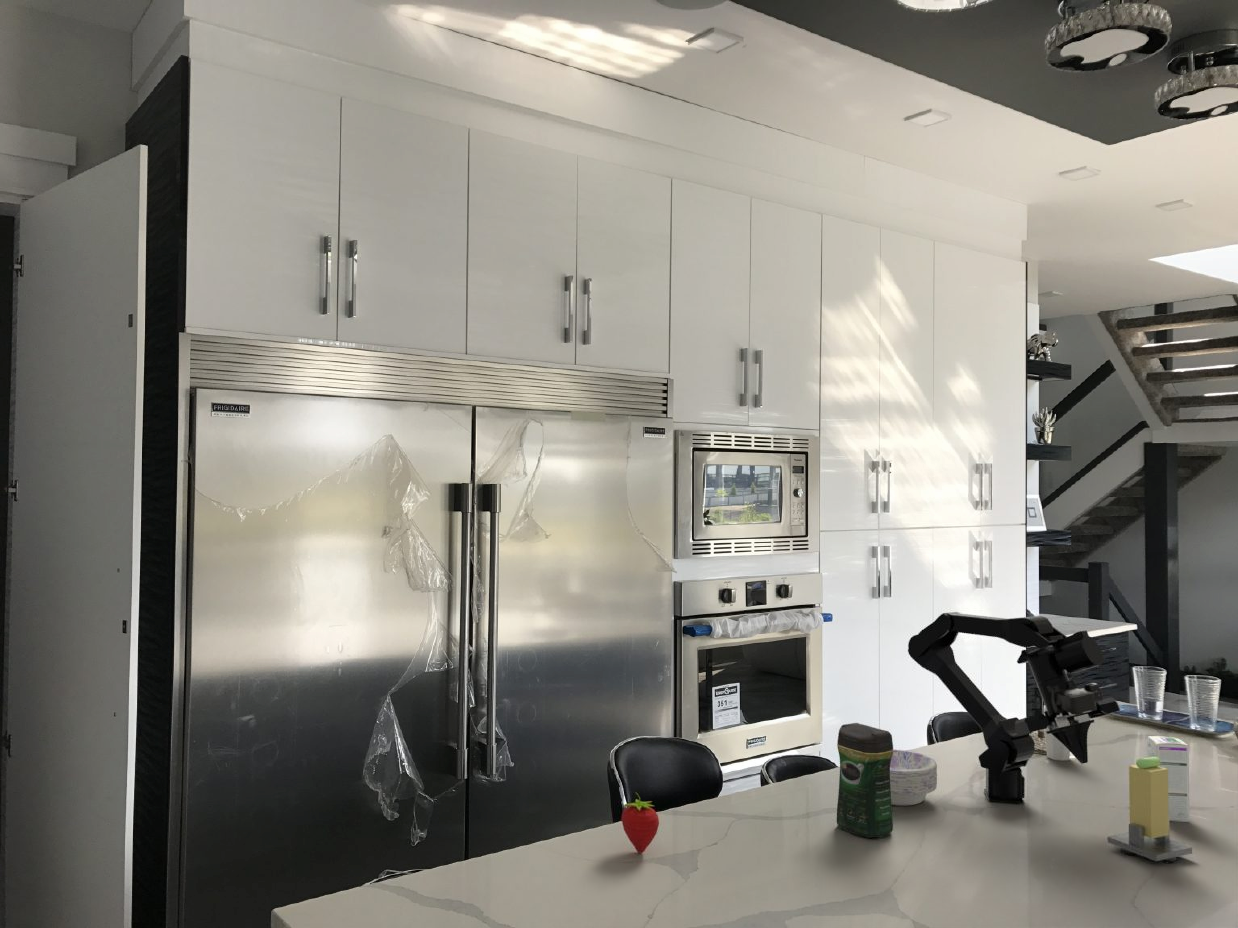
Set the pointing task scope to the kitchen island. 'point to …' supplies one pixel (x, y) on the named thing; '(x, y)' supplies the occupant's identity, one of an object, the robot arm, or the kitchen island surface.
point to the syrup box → (1174, 773)
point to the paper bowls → (911, 777)
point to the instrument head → (1149, 797)
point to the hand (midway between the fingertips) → (1084, 762)
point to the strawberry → (640, 824)
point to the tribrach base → (1149, 845)
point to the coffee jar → (865, 780)
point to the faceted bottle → (1055, 745)
